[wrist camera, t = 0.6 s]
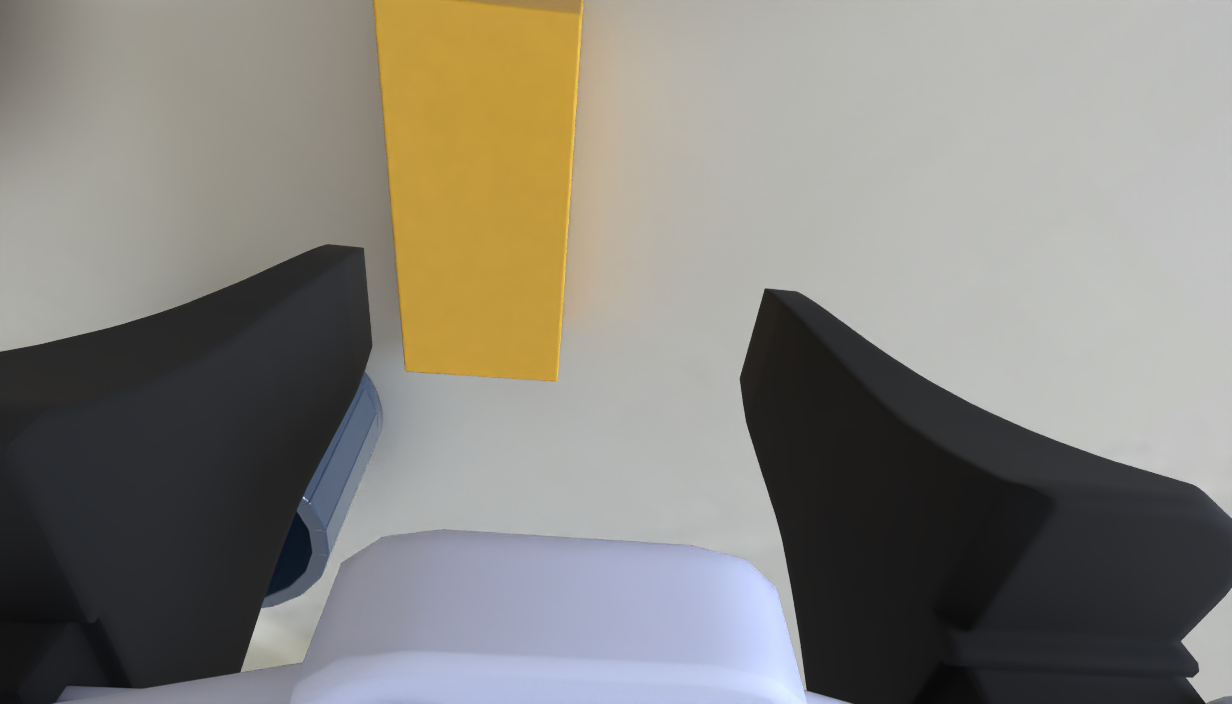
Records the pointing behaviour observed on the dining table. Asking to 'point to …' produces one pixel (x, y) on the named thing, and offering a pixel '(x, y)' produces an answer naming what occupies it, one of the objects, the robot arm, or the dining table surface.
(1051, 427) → the dining table surface
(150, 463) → the robot arm
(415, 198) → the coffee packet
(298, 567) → the espresso cup
